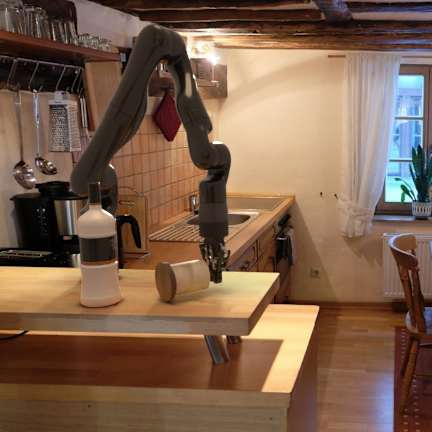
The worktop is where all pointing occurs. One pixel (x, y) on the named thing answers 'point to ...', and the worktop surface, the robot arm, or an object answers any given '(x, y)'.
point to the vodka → (98, 254)
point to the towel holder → (181, 278)
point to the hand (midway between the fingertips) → (215, 281)
